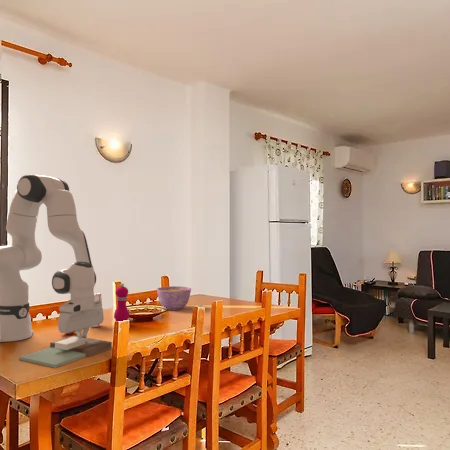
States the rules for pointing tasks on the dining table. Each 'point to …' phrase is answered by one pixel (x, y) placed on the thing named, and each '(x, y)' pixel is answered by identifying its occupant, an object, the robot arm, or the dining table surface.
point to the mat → (52, 357)
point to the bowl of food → (173, 296)
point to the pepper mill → (121, 304)
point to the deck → (89, 346)
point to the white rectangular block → (69, 343)
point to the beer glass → (97, 298)
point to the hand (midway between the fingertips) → (82, 339)
